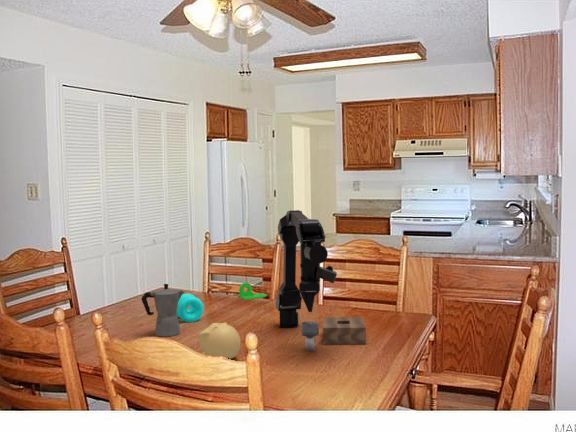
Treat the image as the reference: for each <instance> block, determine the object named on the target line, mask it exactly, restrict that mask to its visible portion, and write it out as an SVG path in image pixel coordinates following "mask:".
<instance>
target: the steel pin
mask: <svg viewBox="0 0 576 432" xmlns="http://www.w3.org/2000/svg"><path fill="white" fill-rule="evenodd" d="M300 323H301V324H300V325H301V336H304V338H305V351H306V352H314V351H316V337H317V336H319V333H320V332H319V331H320V330H319V329H320V328H319V322H318V321H311V320H310V321H303V322H300Z"/></svg>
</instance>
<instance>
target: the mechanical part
mask: <svg viewBox="0 0 576 432" xmlns="http://www.w3.org/2000/svg"><path fill="white" fill-rule="evenodd" d="M238 288H239V292H238V293H239V298H240V299H242V298H243V299H242V300H244V299H248V300H253V299H263V298H266V297H267V294H266V293H263V292H262V293H253V287H252V285H251V284H250V283H248V282H242V283H241V284H240V286H239V287H238ZM245 288H247V290H246V291H245Z"/></svg>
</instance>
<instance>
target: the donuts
mask: <svg viewBox="0 0 576 432" xmlns="http://www.w3.org/2000/svg"><path fill="white" fill-rule="evenodd" d="M204 310H205V309H204V305H203V302H202V300H201V299H199V298H198V297H196V296H195V295H193V294H191V293H183V294H182V296H181V298H180V300H179V302H178V308H177V310H176V312H177V316H178V318H180V319H181V320H182V321H183V322H186V323H194V321H195V322H197V321H198V320H199V319H201V318H202V316H203V314H204Z"/></svg>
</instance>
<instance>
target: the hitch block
mask: <svg viewBox="0 0 576 432" xmlns="http://www.w3.org/2000/svg"><path fill="white" fill-rule="evenodd" d="M365 323H366V322H365V320H364V317H363V316H360V317H359V316H358V317H357V316H354V317H353V316H349V317H348V316H347V317H345V316H343V317H341V316H339V317H335V316H333V317H332V316H328V317H327V316H325V317H322V344H323V345H366V344H367V328H366V324H365Z"/></svg>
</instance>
